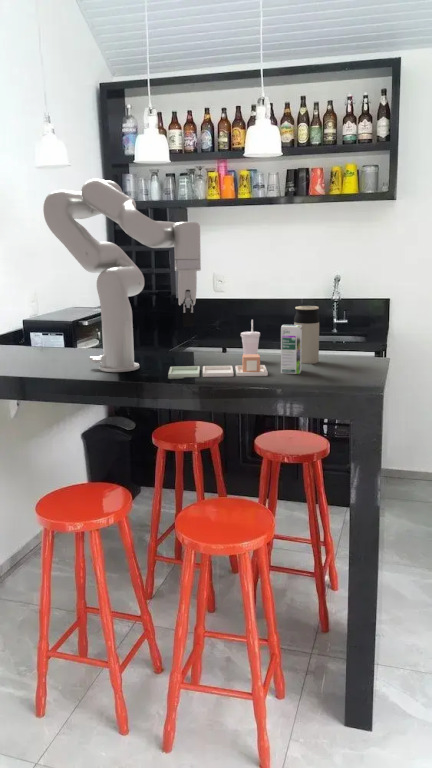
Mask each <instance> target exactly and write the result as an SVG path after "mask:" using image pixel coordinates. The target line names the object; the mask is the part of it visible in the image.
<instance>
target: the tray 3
mask: <svg viewBox="0 0 432 768" xmlns="http://www.w3.org/2000/svg"><path fill="white" fill-rule="evenodd" d="M234 369H235V374H236V377H268V375H269V373H268V370H267V367H266V365H265V364H260V372H243V371H242V365H235V368H234Z"/></svg>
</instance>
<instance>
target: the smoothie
mask: <svg viewBox="0 0 432 768" xmlns="http://www.w3.org/2000/svg"><path fill="white" fill-rule="evenodd" d="M250 324H251V329H250V331H243V332H240V337H241V342H242V351H243V354H258V350H259V344H260V343H259V341H260V337H261V332H259V331H254V319H251V321H250Z"/></svg>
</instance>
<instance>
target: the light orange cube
mask: <svg viewBox="0 0 432 768" xmlns="http://www.w3.org/2000/svg"><path fill="white" fill-rule="evenodd" d="M241 356H242V358H241V359H242V361H241V362H242V363H241V366H242V371H243V372H260V365H261V356H260V353H259V354H258V353H257V354H244V353H243V354H242V355H241Z"/></svg>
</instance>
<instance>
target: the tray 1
mask: <svg viewBox="0 0 432 768" xmlns="http://www.w3.org/2000/svg"><path fill="white" fill-rule="evenodd" d="M200 368H201V366H200V365H191V366H190V365H189V366H188V365H187V366H170V367H169V370H168V374H167V375H168V376H167V379H169V380H174V379H175V380H179V379H180V380H183V379H184V378H200V372H201V371H200V370H201V369H200Z"/></svg>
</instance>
